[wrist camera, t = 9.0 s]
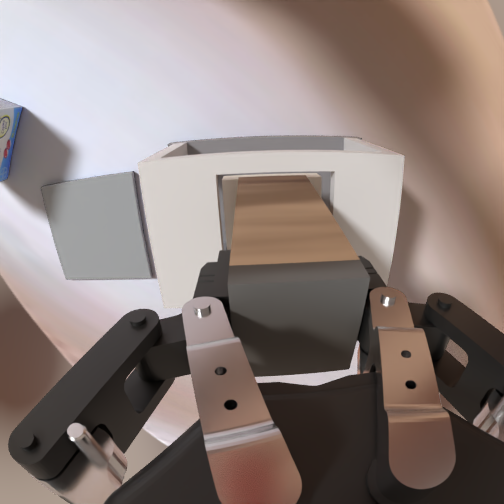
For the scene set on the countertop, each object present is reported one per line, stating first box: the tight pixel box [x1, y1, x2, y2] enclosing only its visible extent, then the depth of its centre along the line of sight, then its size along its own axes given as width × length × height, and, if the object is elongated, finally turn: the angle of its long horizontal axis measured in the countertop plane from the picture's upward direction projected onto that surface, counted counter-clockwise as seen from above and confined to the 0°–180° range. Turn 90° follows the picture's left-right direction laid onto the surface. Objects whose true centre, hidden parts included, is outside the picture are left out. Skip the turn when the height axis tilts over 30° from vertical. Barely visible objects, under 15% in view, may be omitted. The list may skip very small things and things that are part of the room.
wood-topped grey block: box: [228, 175, 370, 377], centre depth 14 cm, size 4×4×11 cm
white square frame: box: [138, 136, 405, 308], centre depth 23 cm, size 20×15×9 cm
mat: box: [41, 171, 152, 280], centre depth 26 cm, size 10×10×1 cm
